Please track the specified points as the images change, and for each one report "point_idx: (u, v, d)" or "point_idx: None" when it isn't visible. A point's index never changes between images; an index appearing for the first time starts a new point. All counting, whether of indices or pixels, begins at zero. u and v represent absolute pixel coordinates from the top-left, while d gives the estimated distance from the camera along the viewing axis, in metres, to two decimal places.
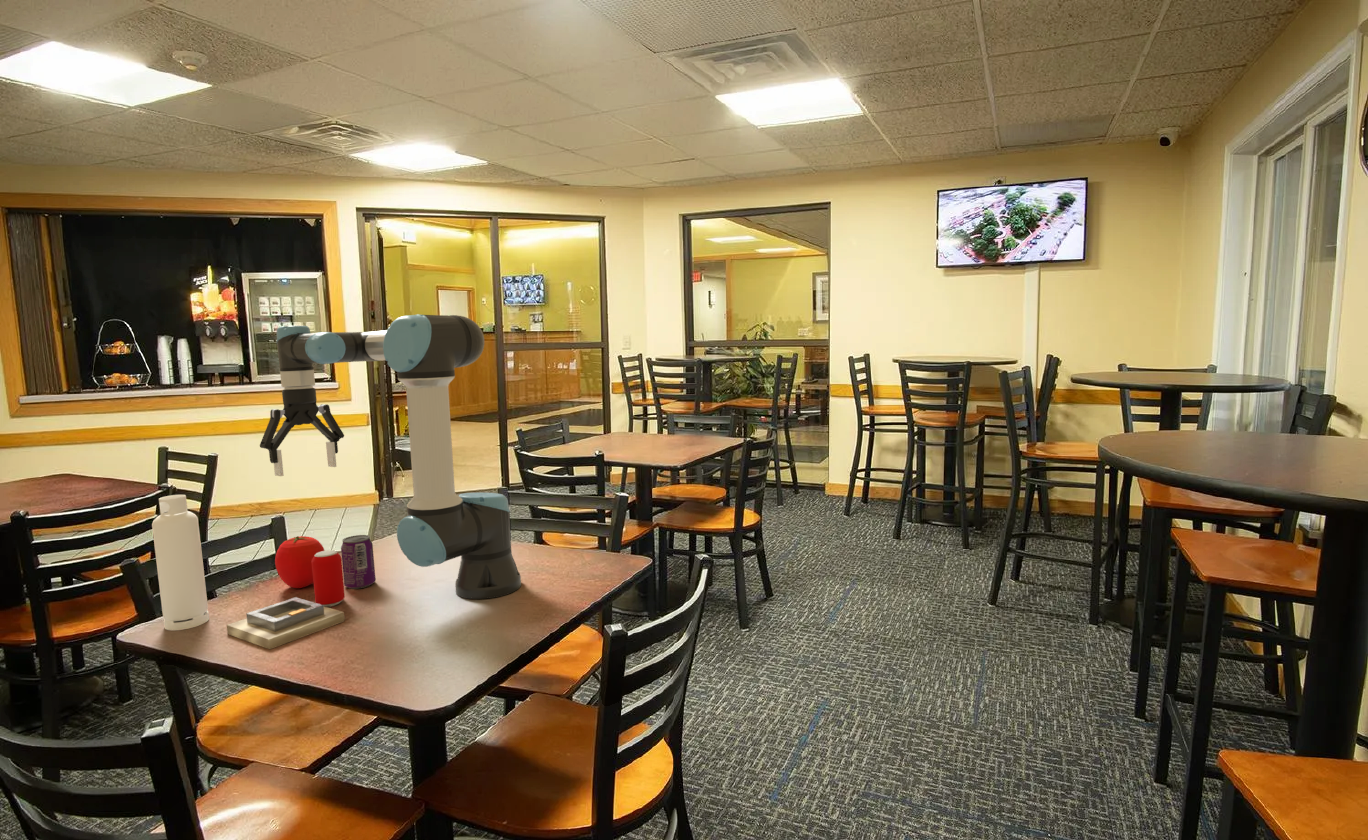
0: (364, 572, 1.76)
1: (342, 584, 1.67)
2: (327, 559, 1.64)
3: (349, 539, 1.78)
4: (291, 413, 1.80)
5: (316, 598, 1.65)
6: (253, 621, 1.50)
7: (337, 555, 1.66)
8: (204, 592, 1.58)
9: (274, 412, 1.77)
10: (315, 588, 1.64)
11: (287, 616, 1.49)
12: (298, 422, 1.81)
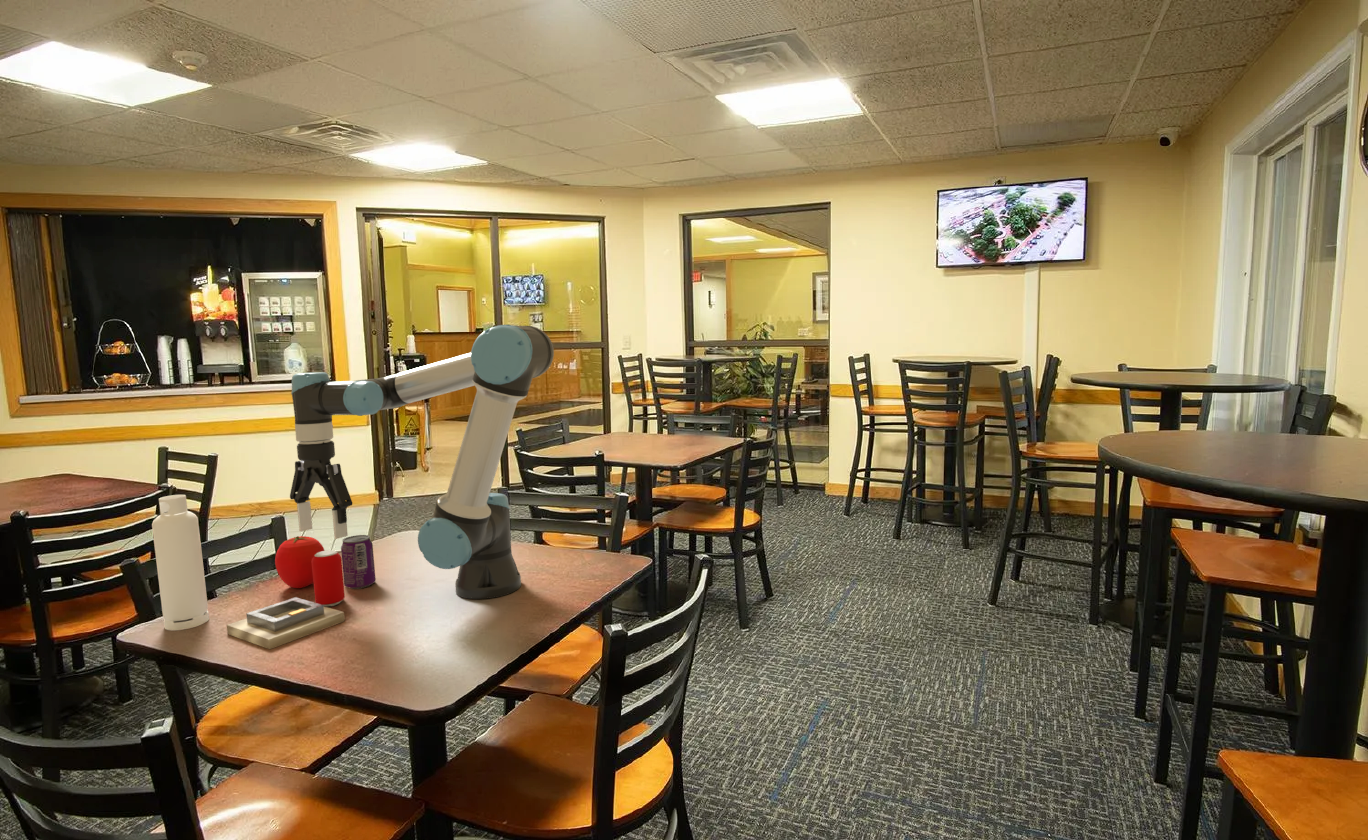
0: (364, 572, 1.76)
1: (342, 584, 1.67)
2: (327, 559, 1.64)
3: (349, 539, 1.78)
4: (305, 468, 1.64)
5: (316, 598, 1.65)
6: (253, 621, 1.50)
7: (337, 555, 1.66)
8: (204, 592, 1.58)
9: None
10: (315, 588, 1.64)
11: (287, 616, 1.49)
12: (310, 479, 1.64)
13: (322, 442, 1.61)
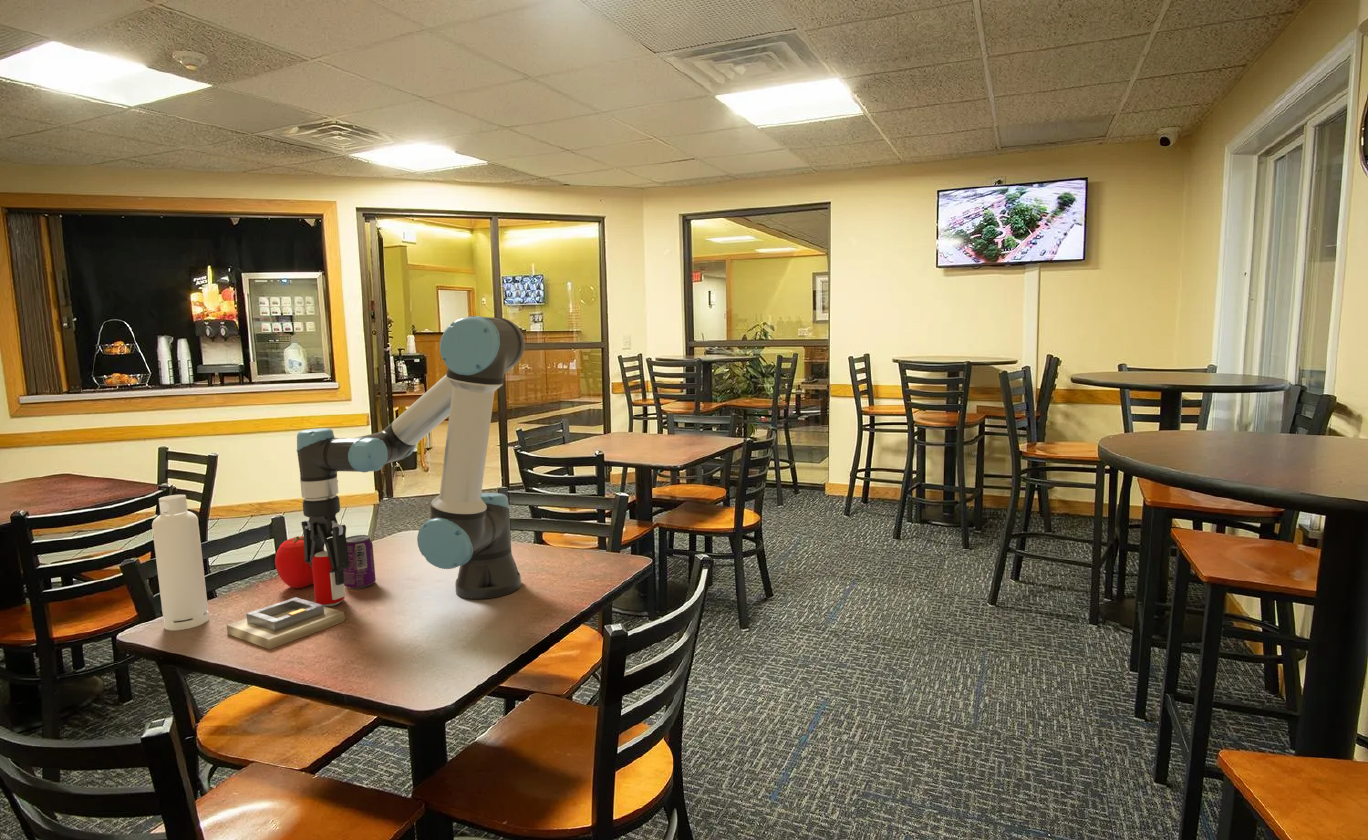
0: (364, 572, 1.76)
1: None
2: (327, 559, 1.64)
3: (349, 539, 1.78)
4: (311, 523, 1.66)
5: (316, 598, 1.65)
6: (253, 621, 1.50)
7: None
8: (204, 592, 1.58)
9: None
10: (315, 588, 1.64)
11: (287, 616, 1.49)
12: (315, 534, 1.65)
13: (327, 498, 1.62)
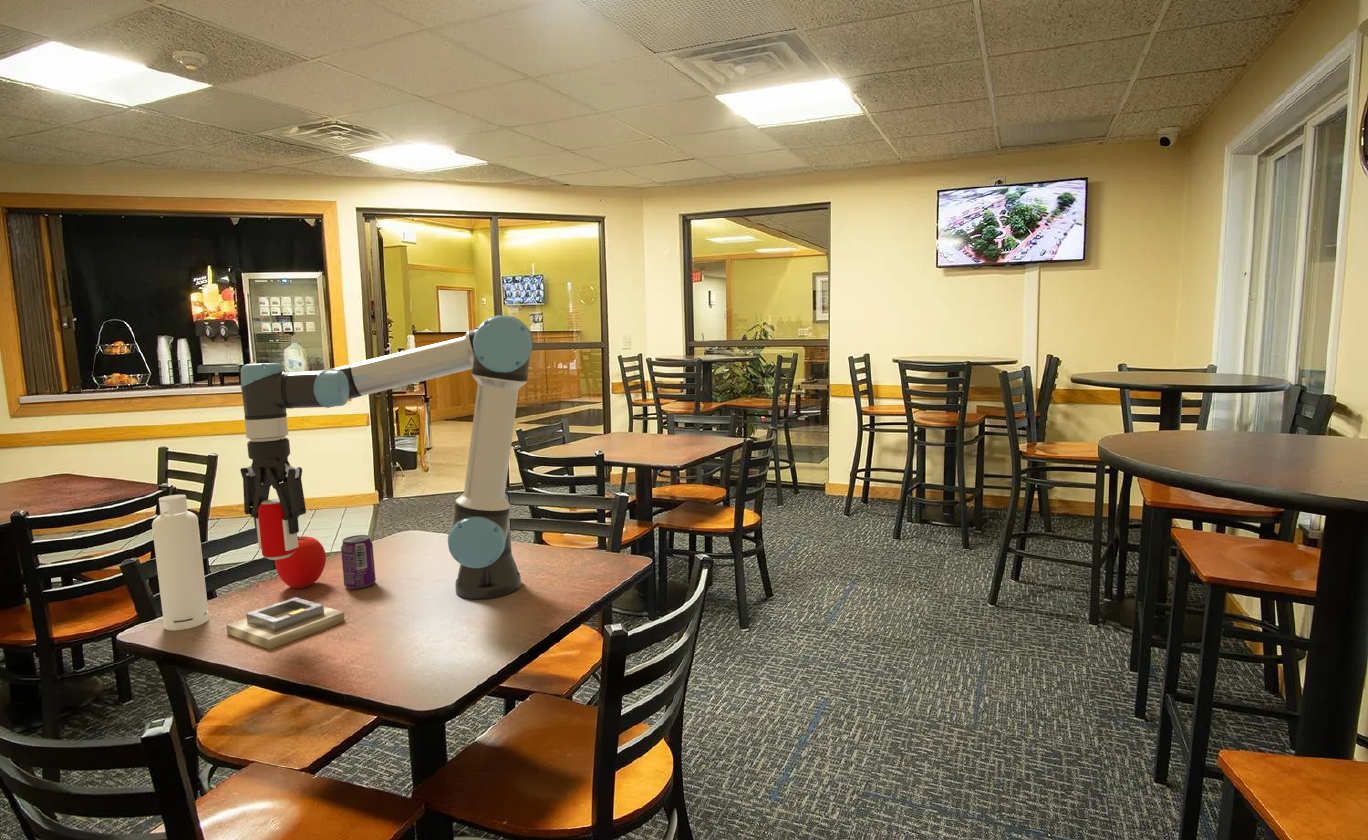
0: (364, 572, 1.76)
1: None
2: (279, 506, 1.49)
3: (349, 539, 1.78)
4: (255, 468, 1.49)
5: (265, 550, 1.49)
6: (253, 621, 1.50)
7: None
8: (204, 592, 1.58)
9: None
10: (263, 539, 1.49)
11: (287, 616, 1.49)
12: (262, 480, 1.49)
13: (279, 439, 1.48)
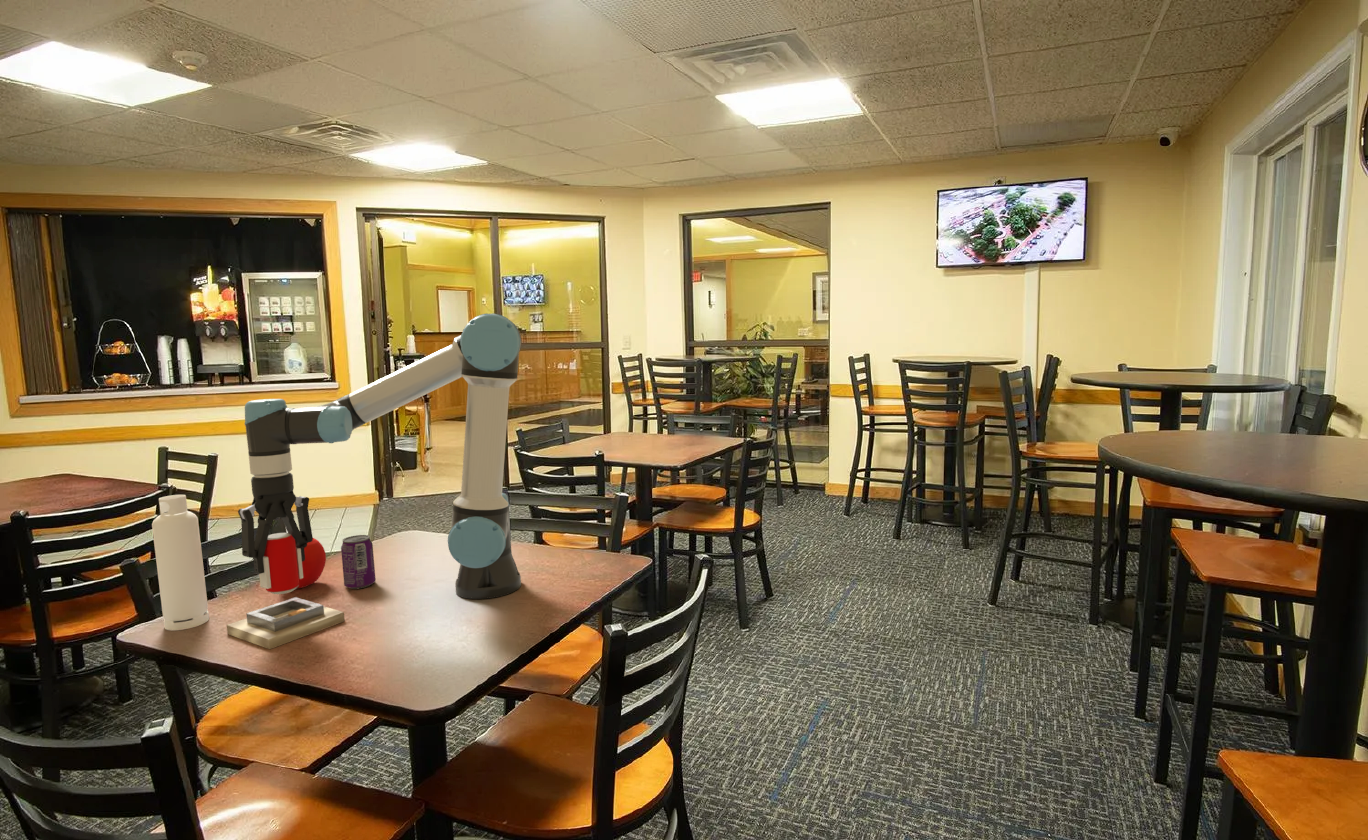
0: (364, 572, 1.76)
1: None
2: None
3: (349, 539, 1.78)
4: (263, 506, 1.47)
5: (288, 583, 1.51)
6: (253, 621, 1.50)
7: None
8: (204, 592, 1.58)
9: (243, 514, 1.45)
10: (286, 573, 1.50)
11: (287, 616, 1.49)
12: None
13: None
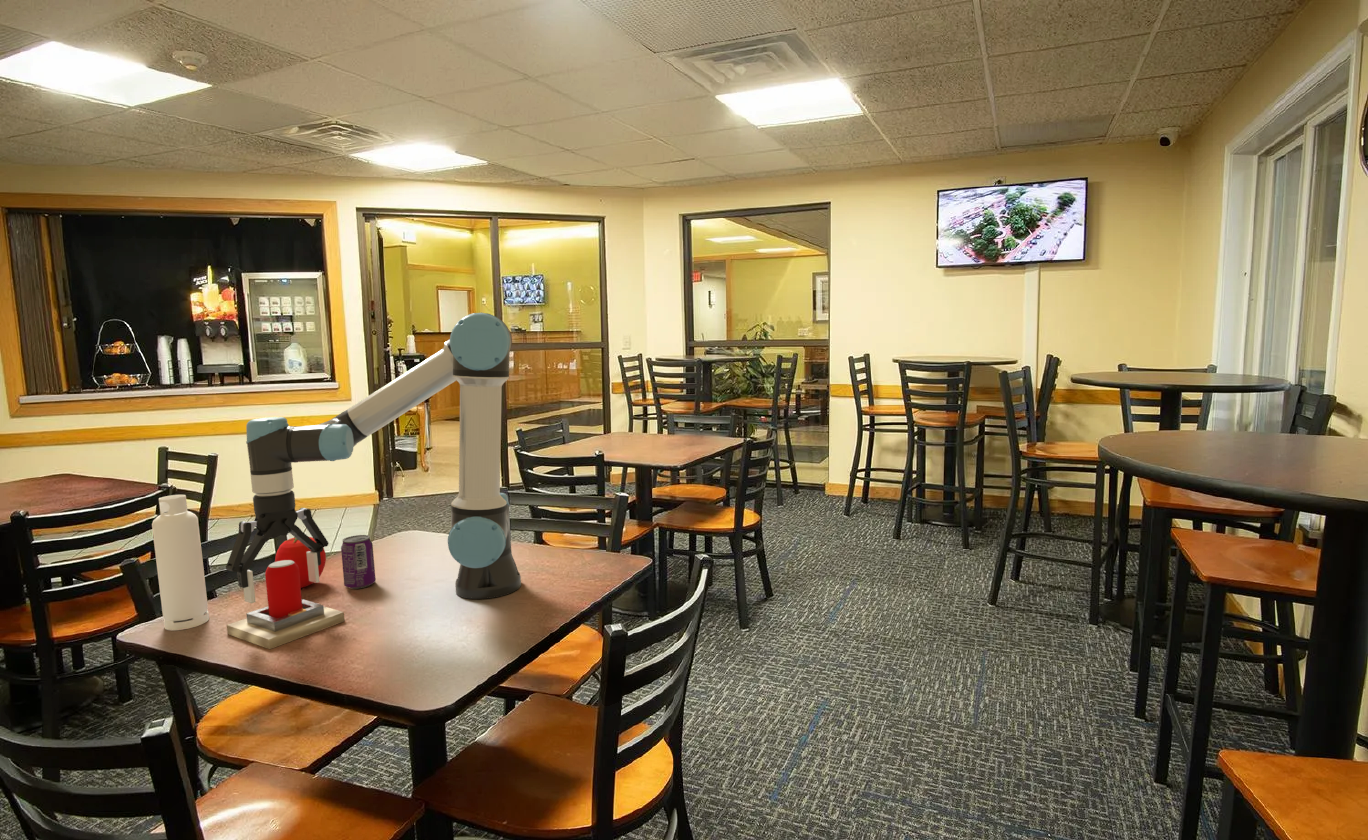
0: (364, 572, 1.76)
1: None
2: (296, 564, 1.54)
3: (349, 539, 1.78)
4: (264, 525, 1.48)
5: (292, 611, 1.51)
6: (253, 621, 1.50)
7: None
8: (204, 592, 1.58)
9: (244, 526, 1.45)
10: (290, 600, 1.51)
11: (287, 616, 1.49)
12: (273, 534, 1.49)
13: None
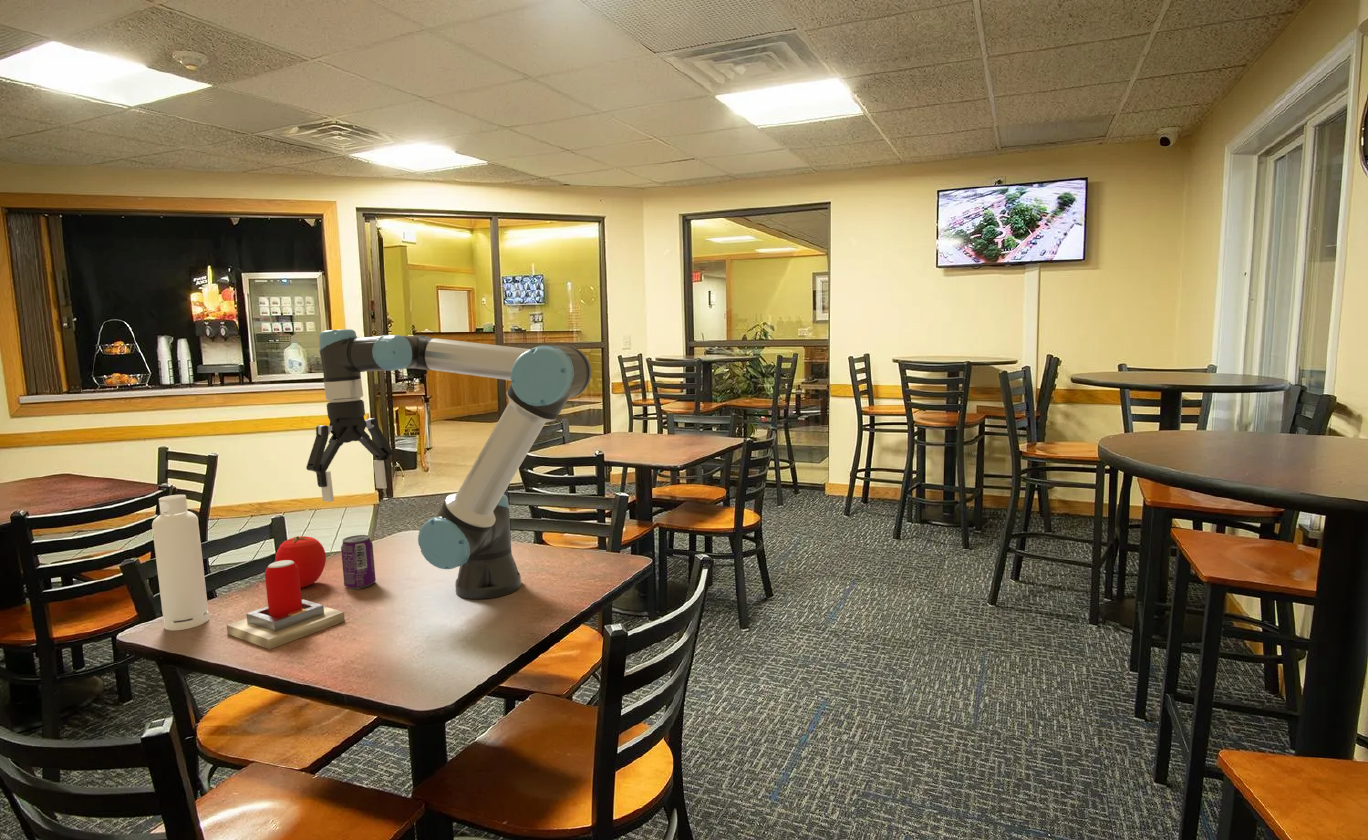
0: (364, 572, 1.76)
1: None
2: None
3: (349, 539, 1.78)
4: (339, 429, 1.58)
5: (292, 611, 1.51)
6: (253, 621, 1.50)
7: None
8: (204, 592, 1.58)
9: (321, 429, 1.55)
10: (290, 600, 1.51)
11: (287, 616, 1.49)
12: (346, 439, 1.59)
13: None
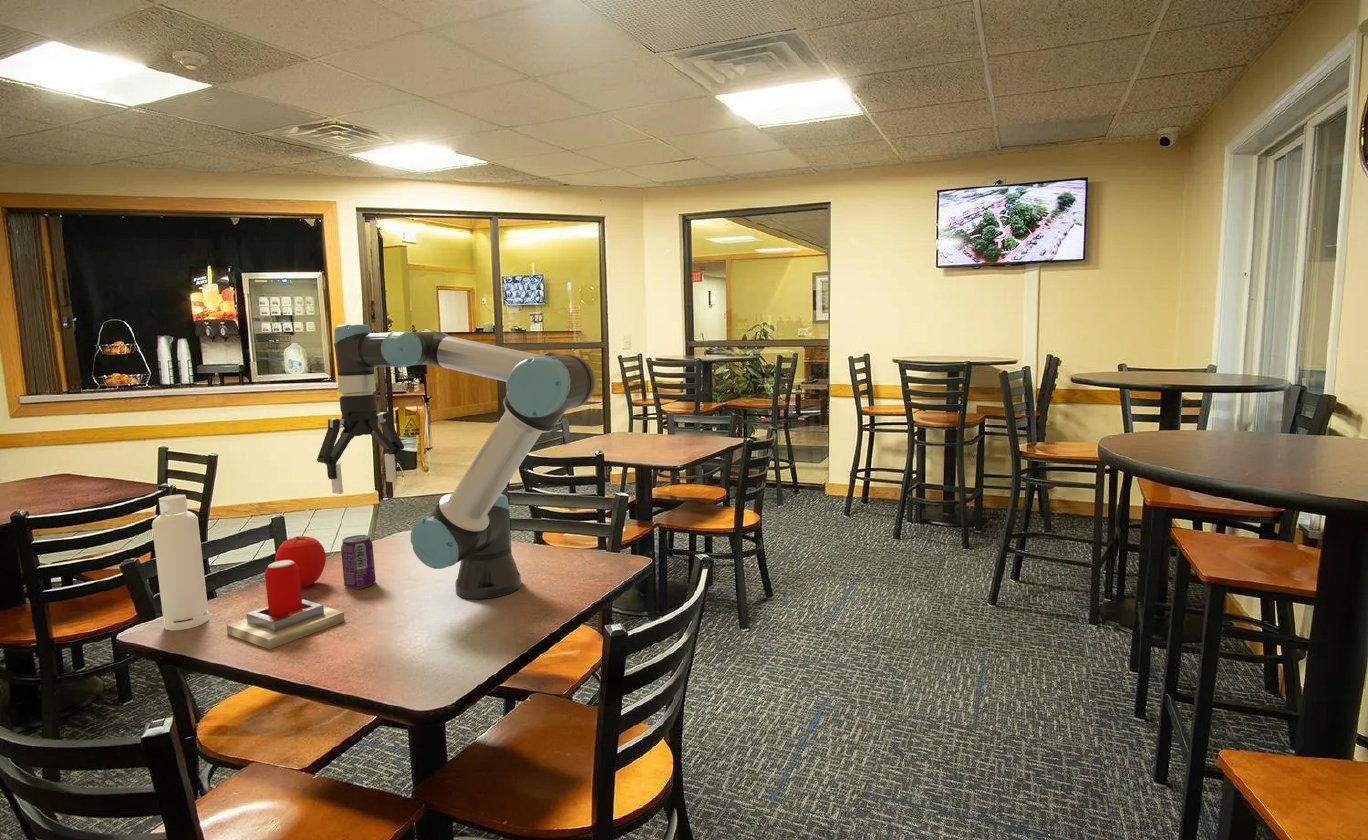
0: (364, 572, 1.76)
1: None
2: None
3: (349, 539, 1.78)
4: (351, 423, 1.60)
5: (292, 611, 1.51)
6: (253, 621, 1.50)
7: None
8: (204, 592, 1.58)
9: (333, 422, 1.57)
10: (290, 600, 1.51)
11: (287, 616, 1.49)
12: (358, 433, 1.62)
13: None
